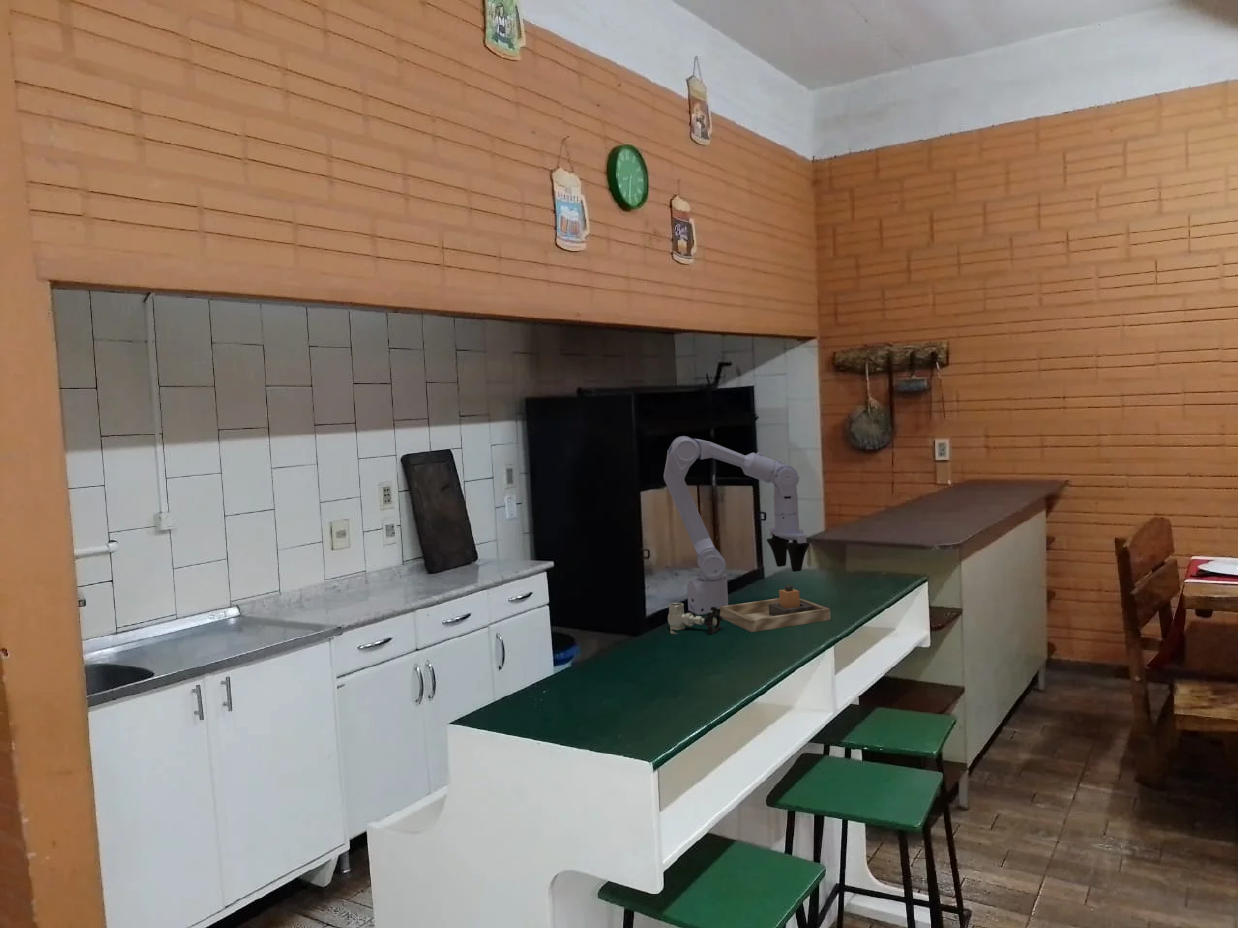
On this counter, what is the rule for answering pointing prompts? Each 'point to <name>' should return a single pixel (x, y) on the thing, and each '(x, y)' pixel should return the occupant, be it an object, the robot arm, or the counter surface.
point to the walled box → (773, 614)
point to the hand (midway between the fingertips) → (789, 568)
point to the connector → (789, 597)
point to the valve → (692, 618)
